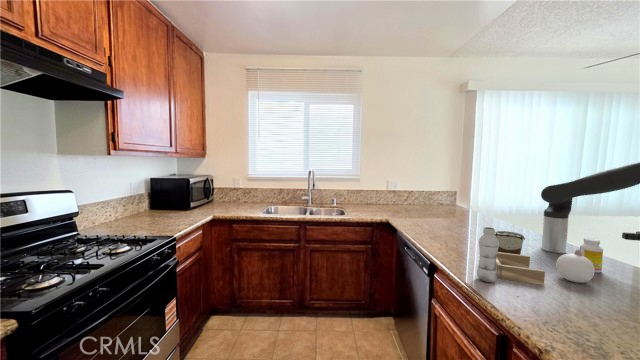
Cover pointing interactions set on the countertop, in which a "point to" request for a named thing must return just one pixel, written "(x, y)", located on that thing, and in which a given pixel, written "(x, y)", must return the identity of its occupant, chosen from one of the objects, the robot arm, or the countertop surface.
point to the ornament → (575, 267)
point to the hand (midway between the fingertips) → (623, 235)
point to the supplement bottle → (593, 252)
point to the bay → (518, 269)
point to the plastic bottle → (488, 255)
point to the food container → (509, 242)
